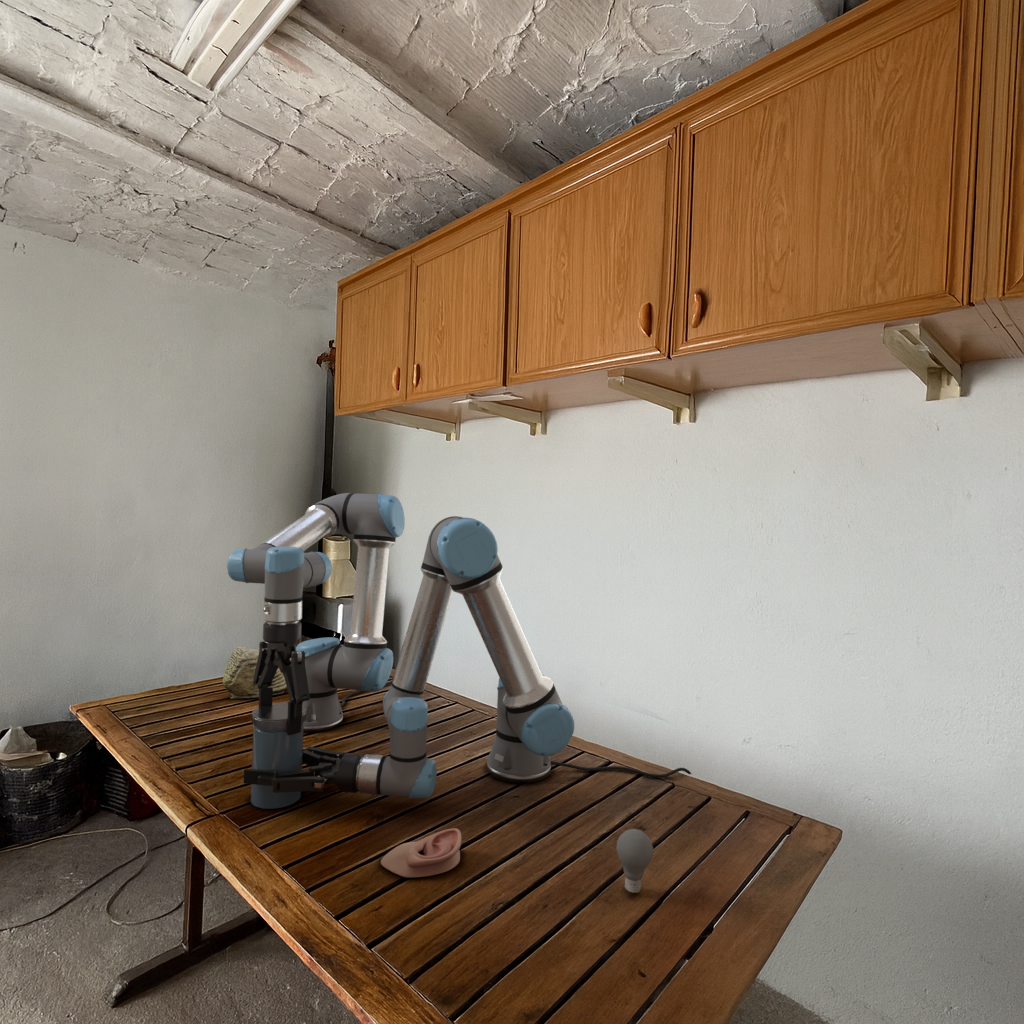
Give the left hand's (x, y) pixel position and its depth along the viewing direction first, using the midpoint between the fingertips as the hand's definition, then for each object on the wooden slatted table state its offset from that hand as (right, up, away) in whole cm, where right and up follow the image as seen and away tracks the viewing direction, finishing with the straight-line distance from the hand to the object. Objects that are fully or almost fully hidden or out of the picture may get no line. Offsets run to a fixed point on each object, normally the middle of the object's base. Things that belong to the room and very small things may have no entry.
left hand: (279, 726), depth 133 cm
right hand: (-5, -8, 0) cm, 10 cm away
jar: (-1, -15, 0) cm, 15 cm away
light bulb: (+69, -19, -27) cm, 76 cm away
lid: (0, +3, 0) cm, 3 cm away
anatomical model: (+33, -17, -21) cm, 42 cm away
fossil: (-32, -12, +66) cm, 74 cm away
